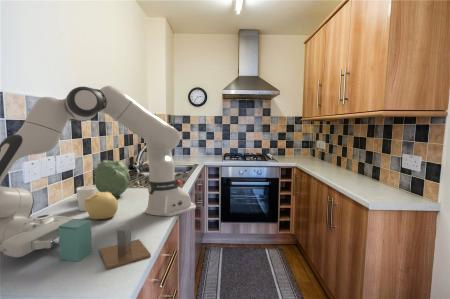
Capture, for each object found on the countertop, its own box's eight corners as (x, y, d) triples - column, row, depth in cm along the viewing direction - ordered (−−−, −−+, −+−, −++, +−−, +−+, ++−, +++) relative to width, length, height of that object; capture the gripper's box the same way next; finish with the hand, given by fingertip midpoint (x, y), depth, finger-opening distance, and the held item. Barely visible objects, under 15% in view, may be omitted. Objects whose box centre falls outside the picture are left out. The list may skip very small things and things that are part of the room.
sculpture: (106, 210, 115) (105, 187, 114) (123, 215, 109) (122, 191, 108) (81, 218, 105) (79, 193, 104) (98, 224, 99) (97, 197, 98)
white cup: (99, 208, 117) (98, 187, 116) (80, 213, 111) (79, 190, 110) (93, 205, 122) (92, 184, 121) (74, 208, 117) (73, 187, 116)
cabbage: (126, 200, 130) (125, 162, 128) (88, 201, 129) (86, 162, 127) (134, 192, 145) (133, 157, 144) (100, 192, 144) (99, 157, 142)
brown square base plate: (115, 239, 86) (115, 216, 86) (162, 243, 84) (162, 220, 83) (79, 266, 70) (77, 238, 69) (136, 273, 67) (135, 244, 66)
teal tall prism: (75, 249, 79) (73, 218, 78) (92, 251, 78) (90, 220, 77) (60, 259, 73) (58, 226, 72) (78, 261, 72) (76, 227, 71)
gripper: (-12, 238, 68) (32, 242, 65) (52, 212, 88) (88, 215, 85) (-10, 260, 68) (34, 266, 66) (53, 229, 88) (89, 232, 86)
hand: (65, 237), depth 76 cm, fingers open, 8 cm apart
